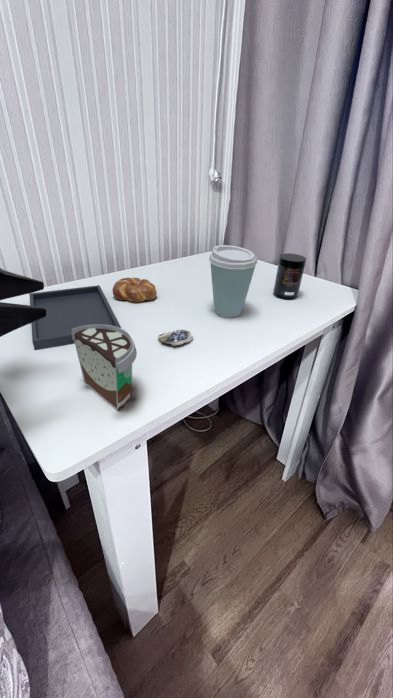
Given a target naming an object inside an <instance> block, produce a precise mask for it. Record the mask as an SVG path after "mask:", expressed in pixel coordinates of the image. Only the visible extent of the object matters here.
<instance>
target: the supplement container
mask: <svg viewBox="0 0 393 698" xmlns="http://www.w3.org/2000/svg"><path fill="white" fill-rule="evenodd" d="M277 261H278V263H277V268H276V274H275V278H274V279H275V280H274V285H273V291H272V292H273V295H274V296H275V297H276V298H278V299H281V300H294V299H296V298H298V296H299V293H300V289H301V284H302V279H303V276H304V271H305V266H306V262H307V258H306V256H304V255H301V254H297V253H288V252H287V253H281V254H280V255H279V257H278V260H277Z"/></svg>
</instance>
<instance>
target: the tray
mask: <svg viewBox="0 0 393 698" xmlns="http://www.w3.org/2000/svg"><path fill="white" fill-rule="evenodd" d="M29 305H30V306H37V307H43V308H46V317H44V318H42V319H39V320H37V321H35V322H32V323H30V325H31V340H32V341H31V342H32V346H33V349H34V351H38V350H43V349H49V348H54V347H59V346H65V345H66V346H67V345H73V344H75V342H74V339H73V340H72V329H73V328H77V327H81V326H86V325H97V324H101V325H111V326H115V327H118V328H121V329H122V326H121V324H120V323H119V320H118V318H117V316H116V315H115V313H114V311H113V308H112V306H111V305H110V303H109V301H108V299H107V297H106V295H105V293H104V291H103V289H102V287H101V285H100V284H96V285H89V286H81V287H74V288H73V287H72V288H64V289H55V290H47V291H37V292H33V293H29Z"/></svg>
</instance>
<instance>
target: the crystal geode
mask: <svg viewBox="0 0 393 698" xmlns="http://www.w3.org/2000/svg"><path fill="white" fill-rule="evenodd" d="M157 339H158V341H159V342H160V343H165V344H167V345H168V344H170V345H171V346H172V347H177V346H180V345H183V344H185V343H190V342H191V341H193V340H194V338H193V336H192V334H191V331H189V330H187V329H176V330H173V331H172V332H171V331H168V332H167V331H164V332H163V333H161V334H158V335H157Z"/></svg>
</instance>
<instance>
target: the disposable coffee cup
mask: <svg viewBox="0 0 393 698" xmlns="http://www.w3.org/2000/svg"><path fill="white" fill-rule="evenodd" d="M208 260H209V263H210V274H211V287H212V300H213V307H214V311H215V314H216V315H218V316H220V317H222V318H229V319H230V318H236V317H239V316H240V315H241V313H242V312H243V309H244V306H245V303H246V300H247V297H248V293H249V289H250V286H251V283H252V279H253V276H254V272H255V270H256V266H257V264H258V257H257V256H256V255H255V254H254V252H253V251H252V250H249V249H247V248H245V247H240V246H236V245H228V244H220V245H215V246H214V247H213V248H212V251H211V253H210V254H209V257H208Z"/></svg>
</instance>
